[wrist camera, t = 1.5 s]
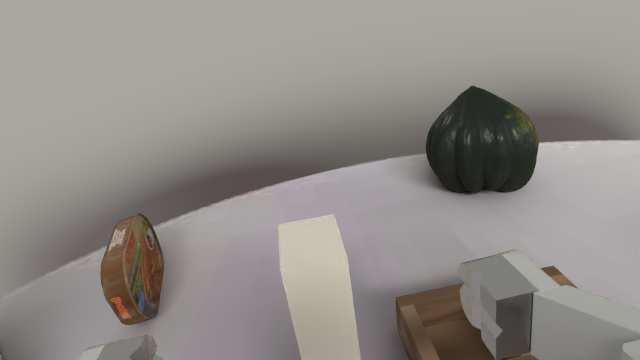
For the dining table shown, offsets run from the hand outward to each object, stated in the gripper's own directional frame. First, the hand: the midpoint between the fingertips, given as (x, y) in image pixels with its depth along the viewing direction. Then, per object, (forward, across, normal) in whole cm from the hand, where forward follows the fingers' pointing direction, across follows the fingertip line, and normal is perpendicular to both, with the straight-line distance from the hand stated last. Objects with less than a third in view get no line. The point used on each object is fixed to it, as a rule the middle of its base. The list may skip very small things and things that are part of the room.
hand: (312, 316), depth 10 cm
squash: (+42, -26, +20) cm, 54 cm away
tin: (+32, +21, +19) cm, 42 cm away
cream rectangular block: (+14, 0, +21) cm, 25 cm away
